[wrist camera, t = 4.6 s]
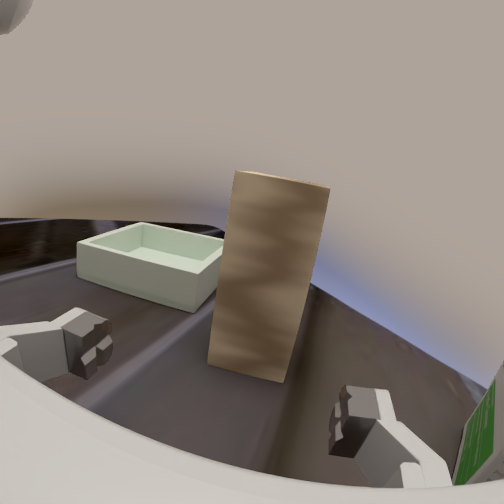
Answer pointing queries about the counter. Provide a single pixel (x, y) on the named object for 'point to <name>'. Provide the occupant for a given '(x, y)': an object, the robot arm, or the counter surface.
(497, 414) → the skincare box
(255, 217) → the oak block
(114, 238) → the dish
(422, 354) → the counter surface
